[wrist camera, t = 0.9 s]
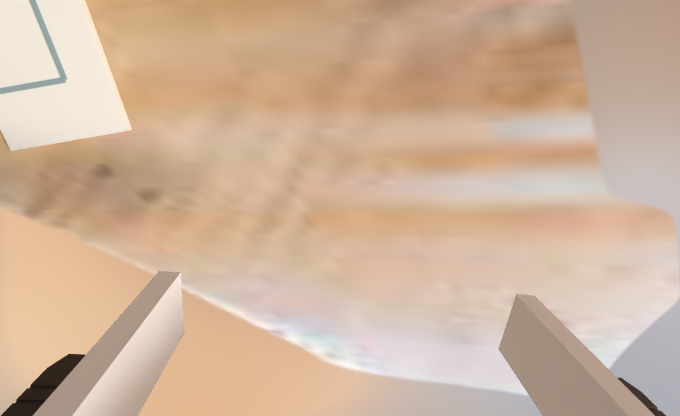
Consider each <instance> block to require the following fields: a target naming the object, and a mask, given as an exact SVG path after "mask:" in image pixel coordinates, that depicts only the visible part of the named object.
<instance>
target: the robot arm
mask: <svg viewBox="0 0 680 416" xmlns="http://www.w3.org/2000/svg"><path fill="white" fill-rule="evenodd" d="M183 334H184V323H183V306H182V289H181V273H178V272H162V271H159V272H158V273H157V274H156V276H155V277H154V278H153V279H152V280H151V281H150V283H149V284H148V285H147V286H146V287H145V288H144V290H142V292H141V293H140V294H139V295H138V296H137V297H136V298H135V299H134V301H133V302H132V303H131V304H130V305H129V306H128V307H127V309H126V310H125V311H124V312H123V313H122V314H121V315H120V317H119V318H118V319H117V320H116V321H115V322H114V323H113V325H112V326H111V327H110V328H109V329H108V330H107V331H106V333H105V334H104V335H103V336H102V337H101V339H99V341H98V342H97V343H96V344H95V345H94V346H93V347H92V349H91V350H90V351H89V352H88V353H87V354H86V355H80V354H68V355H67V356H65V357H64V358H62V359H61V360H59V361H57V362H56V363H54V364H53V365H51V366H50V367H48V368H47V369H46V370H45V371H44V372H43V373H42V374H41V375H40V376H39V377H38V378H37V379H36V380H35V381H34V382H33V383H32V384H31V387H30V388H29V389H26V390H25V391H24V392H23V393H22V395H21V396H20V397H19V398H18V399H17V401H16V403H13V404H12V405H11V406H10V407H9V408H8V409H7V410H6V411H5V412H4V413H3V414H2V415H1V416H138V415H139V413H140V411H141V409H142V408H143V406H144V404H145V402H146V400H147V399H148V397H149V395H150V393H151V391H152V390H153V388H154V386H155V384H156V383H157V381H158V379H159V377H160V375H161V373H162V372H163V370H164V368H165V366H166V365H167V363H168V361H169V359H170V357H171V356H172V354H173V352H174V350H175V348H176V347H177V345H178V343H179V341H180V340H181V338H182V336H183ZM499 350H500V352H501V353H502V355H503V356H504V358H505V359H506V361H507V362H508V364H509V365H510V367H511V368H512V370H513V371H514V373H515V374H516V376H517V377H518V379H519V380H520V382H521V383H522V385H523V387H524V388H525V390H526V391H527V393H528V394H529V396H530V397H531V399H532V400H533V402H534V403H535V404H536V406H537V408H538V409H539V410H540V412H541V413H542V415H543V416H666V415H664V414H663V412H661V411H658V409H657V407H656V406H655V405H654V404H653V403H652V402H651V401H650V400H649V399H648V398H647V397H646V396H645V395H644V394H643V393H642V392H641V391H639V390H638V389H636V388H635V387H633V386H632V385H630V384H629V383H628V382H626V381H625V380H623V379H622V378H617V377H616V376H614V374H613V373H611V371H610V370H609V369H608V368H607V367H606V366H605V365H604V364H603V363H602V362H601V361H600V360H599V359H598V358H597V357H596V356H595V355H594V354H593V353H592V352H591V351H590V350H589V349H588V348H586V347H585V346H584V345H583V344H582V343H581V342H580V341H579V340H578V339H577V338H576V337H575V336H574V335H573V334H572V333H571V332H570V331H569V330H568V329H567V328H566V327H565V326H564V325H563V324H562V323H561V322H560V321H559V320H558V319H557V318H556V317H555V316H554V315H553V314H552V313H551V312H550V311H549V310H548V309H547V308H546V307H545V306H544V305H543V304H542V303H541V302H540V301H539V300H538V299H537V298H536V297H535V296H531V295H516V297H515V301H514V304H513V307H512V310H511V313H510V316H509V319H508V322H507V325H506V328H505V331H504V334H503V337H502V340H501V343H500V346H499Z"/></svg>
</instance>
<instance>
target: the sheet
mask: <svg viewBox="0 0 680 416" xmlns="http://www.w3.org/2000/svg"><path fill="white" fill-rule="evenodd" d="M0 130H1V132H2V134H3V136H4V138H5V140H6V142H7V144H8V146H9V148H10V150H11V151H15V150H21V149H27V148H32V147H38V146H44V145H49V144H55V143H61V142H66V141H72V140H78V139H84V138H89V137H95V136H101V135H106V134H112V133H118V132H123V131H129V130H132V128H131V126H130V123H129V120H128V117H127V115H126V112H125V109H124V106H123V104H122V101H121V98H120V95H119V92H118V90H117V87H116V84H115V81H114V79H113V76H112V73H111V70H110V68H109V65H108V62H107V59H106V57H105V54H104V51H103V48H102V46H101V43H100V40H99V37H98V35H97V32H96V29H95V26H94V24H93V21H92V18H91V15H90V13H89V10H88V7H87V4H86V2H85V0H0Z"/></svg>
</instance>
